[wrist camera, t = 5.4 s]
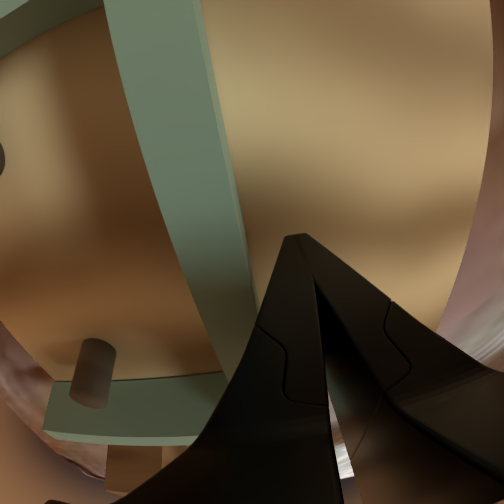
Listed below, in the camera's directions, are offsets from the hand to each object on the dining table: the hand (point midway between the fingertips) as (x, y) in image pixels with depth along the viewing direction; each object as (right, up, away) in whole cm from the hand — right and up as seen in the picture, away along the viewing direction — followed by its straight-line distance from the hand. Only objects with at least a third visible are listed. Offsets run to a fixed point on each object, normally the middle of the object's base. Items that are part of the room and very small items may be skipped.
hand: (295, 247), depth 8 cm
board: (-3, +1, +2) cm, 4 cm away
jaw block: (-9, -13, +12) cm, 20 cm away
